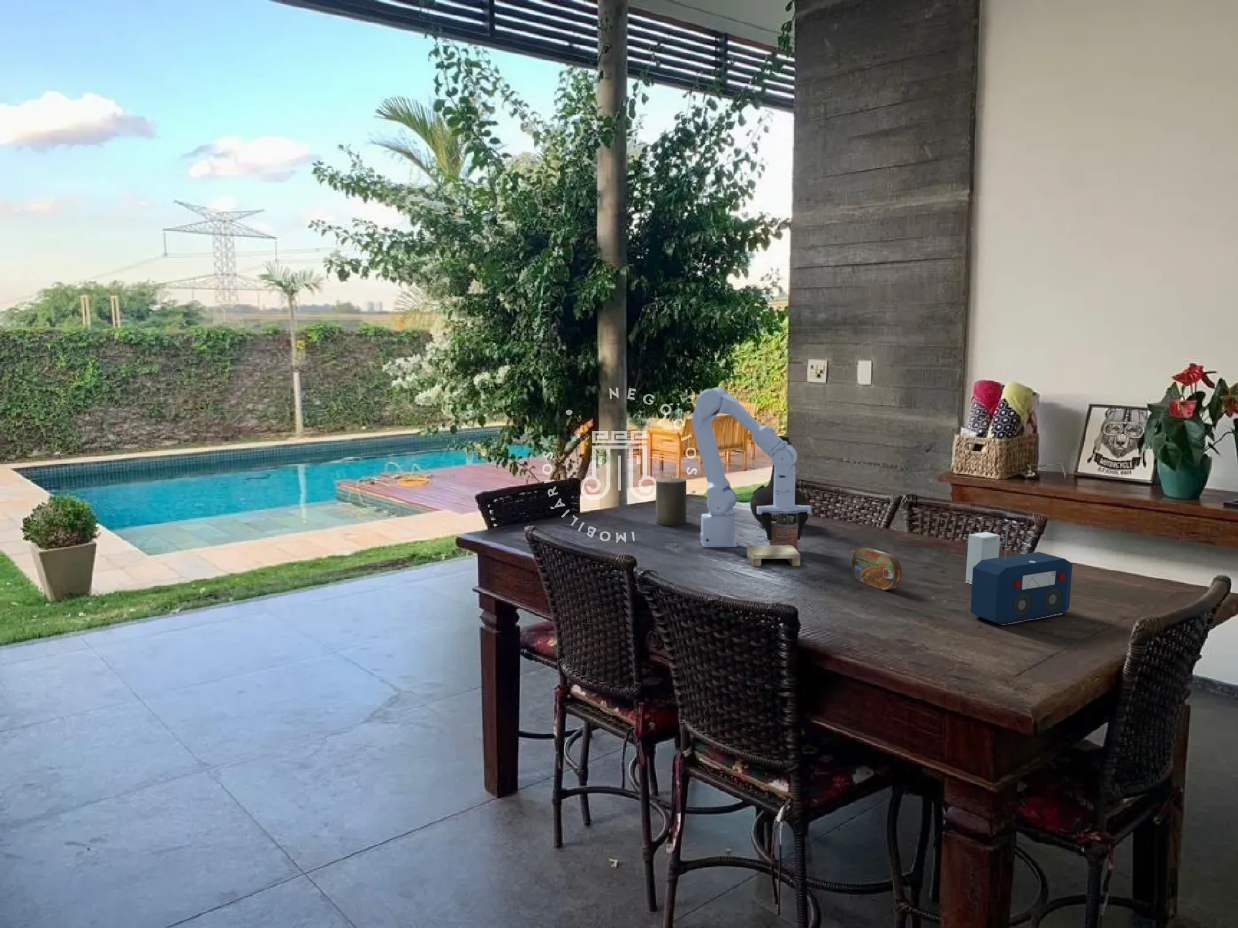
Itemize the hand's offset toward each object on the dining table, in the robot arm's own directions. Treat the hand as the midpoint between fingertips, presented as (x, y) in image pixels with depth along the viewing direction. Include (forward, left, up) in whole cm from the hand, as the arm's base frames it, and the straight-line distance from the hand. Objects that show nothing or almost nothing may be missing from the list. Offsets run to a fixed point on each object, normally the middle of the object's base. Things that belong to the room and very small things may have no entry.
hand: (783, 539), depth 240 cm
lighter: (0, 0, -3) cm, 3 cm away
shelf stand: (-5, -12, -3) cm, 13 cm away
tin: (+15, -35, -3) cm, 38 cm away
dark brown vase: (+5, +31, -3) cm, 32 cm away
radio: (+38, -59, -3) cm, 70 cm away
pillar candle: (-28, +37, -3) cm, 47 cm away
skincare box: (+40, -35, -3) cm, 53 cm away
